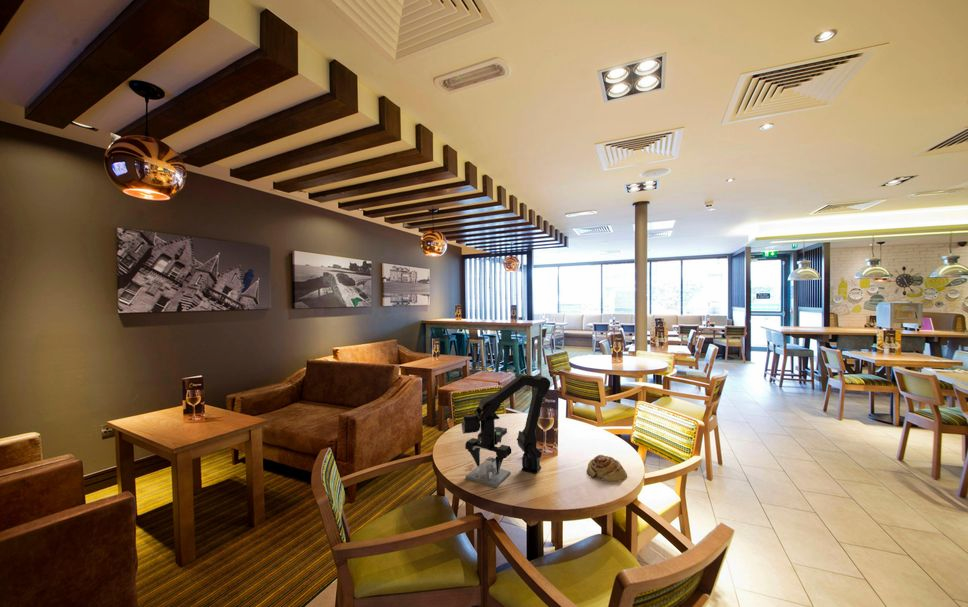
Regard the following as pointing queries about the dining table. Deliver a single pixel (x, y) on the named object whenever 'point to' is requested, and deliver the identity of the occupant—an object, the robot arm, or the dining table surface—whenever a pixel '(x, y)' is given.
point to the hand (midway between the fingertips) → (488, 468)
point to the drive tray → (491, 480)
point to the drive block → (487, 467)
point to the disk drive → (498, 431)
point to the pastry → (606, 468)
